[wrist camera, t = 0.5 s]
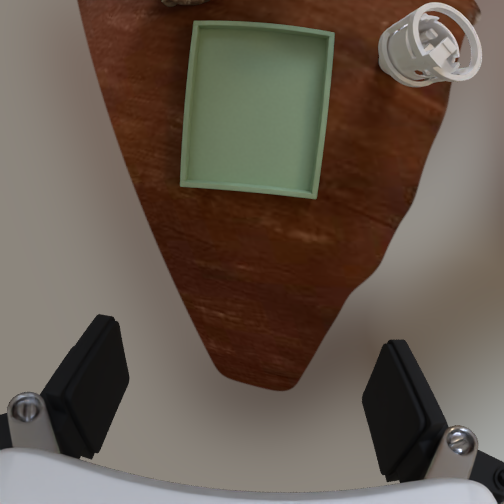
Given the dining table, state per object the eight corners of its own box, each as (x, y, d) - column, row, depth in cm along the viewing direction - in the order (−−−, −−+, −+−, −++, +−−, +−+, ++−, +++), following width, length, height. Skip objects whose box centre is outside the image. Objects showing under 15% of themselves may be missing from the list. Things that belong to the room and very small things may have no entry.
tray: (197, 25, 29) (193, 20, 27) (331, 37, 29) (334, 32, 28) (184, 183, 37) (179, 186, 35) (313, 195, 37) (316, 199, 35)
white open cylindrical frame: (350, 58, 30) (402, 24, 16) (386, 26, 28) (448, -14, 14) (392, 102, 32) (462, 96, 18) (426, 69, 30) (501, 53, 16)
